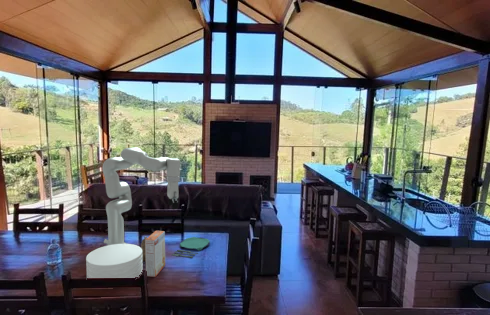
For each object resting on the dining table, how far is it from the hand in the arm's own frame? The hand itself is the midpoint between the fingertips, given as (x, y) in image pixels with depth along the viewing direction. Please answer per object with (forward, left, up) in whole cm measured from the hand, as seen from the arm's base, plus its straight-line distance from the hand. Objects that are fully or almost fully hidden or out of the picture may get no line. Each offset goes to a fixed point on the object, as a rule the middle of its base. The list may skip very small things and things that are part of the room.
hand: (173, 206), depth 182 cm
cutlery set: (+6, +18, -33) cm, 38 cm away
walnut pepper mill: (-15, -5, -32) cm, 36 cm away
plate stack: (-23, -24, -33) cm, 47 cm away
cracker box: (-3, -17, -33) cm, 37 cm away
